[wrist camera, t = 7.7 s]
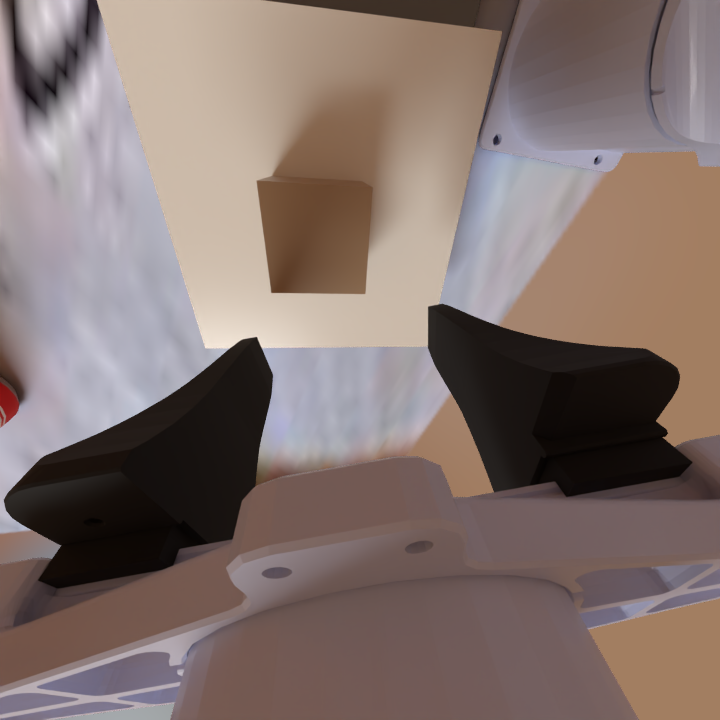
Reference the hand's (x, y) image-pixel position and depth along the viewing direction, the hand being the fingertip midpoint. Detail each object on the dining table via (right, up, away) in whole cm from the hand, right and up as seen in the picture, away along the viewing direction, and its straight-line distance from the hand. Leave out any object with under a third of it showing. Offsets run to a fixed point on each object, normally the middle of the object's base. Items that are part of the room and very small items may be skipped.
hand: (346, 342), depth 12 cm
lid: (-2, +6, +3) cm, 7 cm away
